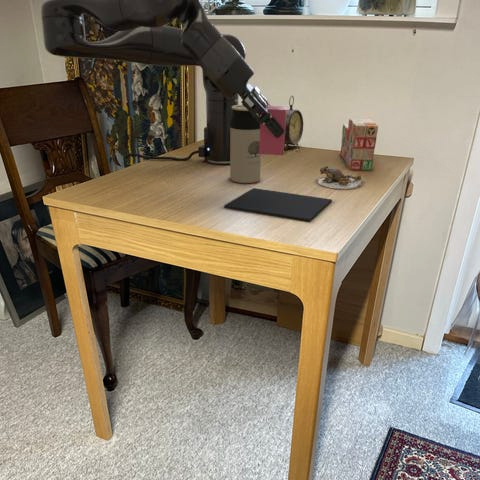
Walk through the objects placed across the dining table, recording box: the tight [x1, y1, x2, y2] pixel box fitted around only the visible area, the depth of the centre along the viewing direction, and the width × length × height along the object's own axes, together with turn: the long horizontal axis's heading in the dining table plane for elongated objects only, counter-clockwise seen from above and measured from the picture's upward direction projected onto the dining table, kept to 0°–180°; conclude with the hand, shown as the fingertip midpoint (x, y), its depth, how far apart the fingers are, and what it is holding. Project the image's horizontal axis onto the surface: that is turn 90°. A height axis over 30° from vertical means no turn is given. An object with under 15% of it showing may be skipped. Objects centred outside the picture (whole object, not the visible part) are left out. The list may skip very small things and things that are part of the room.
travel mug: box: [229, 104, 262, 184], centre depth 127 cm, size 8×8×18 cm
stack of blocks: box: [340, 117, 379, 171], centre depth 149 cm, size 21×6×12 cm, turn 178°
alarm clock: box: [284, 95, 304, 151], centre depth 165 cm, size 11×5×16 cm, turn 148°
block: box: [259, 105, 288, 156], centre depth 106 cm, size 5×5×9 cm
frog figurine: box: [317, 165, 363, 190], centre depth 129 cm, size 12×12×4 cm
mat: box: [223, 187, 333, 223], centre depth 113 cm, size 20×16×1 cm
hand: (281, 132), depth 106 cm, fingers closed on block, 5 cm apart
